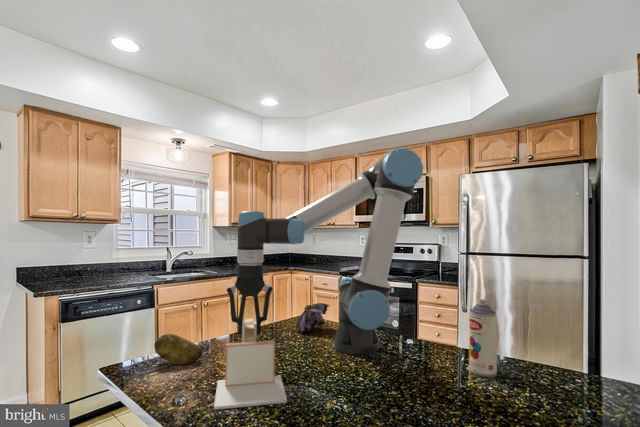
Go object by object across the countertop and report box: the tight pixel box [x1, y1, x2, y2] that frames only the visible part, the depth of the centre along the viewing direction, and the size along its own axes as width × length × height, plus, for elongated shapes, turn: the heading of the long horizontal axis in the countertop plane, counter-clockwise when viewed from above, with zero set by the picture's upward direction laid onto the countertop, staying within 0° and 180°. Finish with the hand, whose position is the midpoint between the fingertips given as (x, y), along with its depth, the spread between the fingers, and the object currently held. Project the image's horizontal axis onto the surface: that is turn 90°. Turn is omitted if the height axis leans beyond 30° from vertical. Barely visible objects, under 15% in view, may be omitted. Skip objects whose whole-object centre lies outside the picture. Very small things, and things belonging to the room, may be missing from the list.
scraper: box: [244, 317, 255, 342], centre depth 102 cm, size 19×7×6 cm, turn 12°
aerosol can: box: [468, 298, 498, 378], centre depth 100 cm, size 7×7×20 cm
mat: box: [213, 374, 288, 411], centre depth 87 cm, size 16×14×1 cm
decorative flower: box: [296, 302, 331, 334], centre depth 140 cm, size 14×12×15 cm
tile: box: [224, 340, 276, 387], centre depth 90 cm, size 12×2×10 cm, turn 102°
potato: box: [154, 333, 203, 365], centre depth 105 cm, size 8×13×8 cm, turn 76°
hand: (249, 345), depth 104 cm, fingers closed on scraper, 3 cm apart
